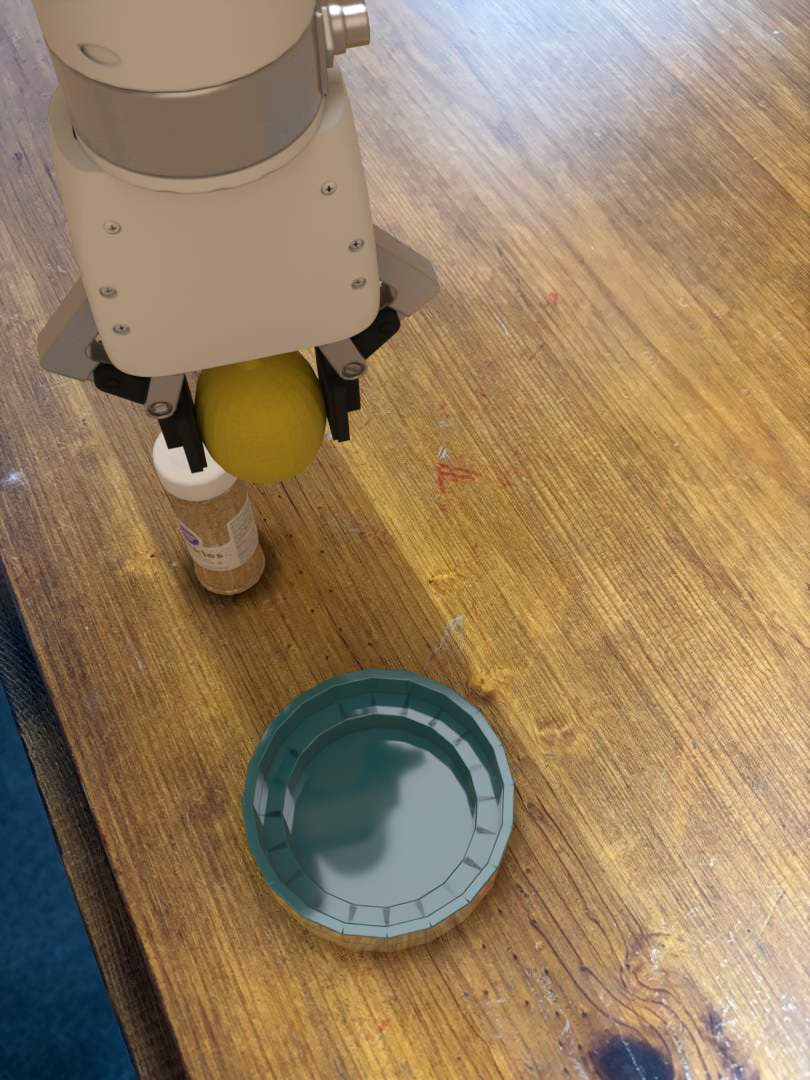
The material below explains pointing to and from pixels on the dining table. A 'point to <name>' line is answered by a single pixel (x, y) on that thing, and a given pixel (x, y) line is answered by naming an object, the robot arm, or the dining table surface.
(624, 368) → the dining table surface
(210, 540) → the sprinkles bottle
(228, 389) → the lemon
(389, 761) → the bowl
